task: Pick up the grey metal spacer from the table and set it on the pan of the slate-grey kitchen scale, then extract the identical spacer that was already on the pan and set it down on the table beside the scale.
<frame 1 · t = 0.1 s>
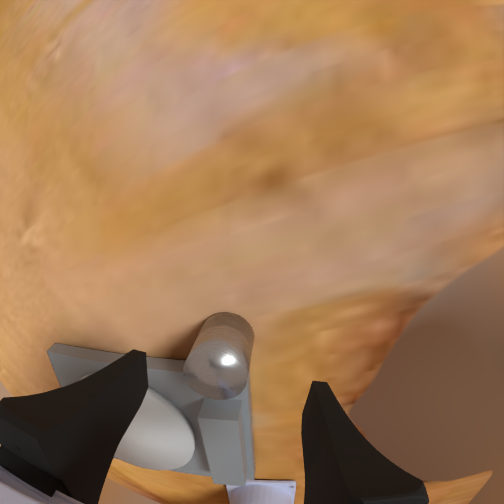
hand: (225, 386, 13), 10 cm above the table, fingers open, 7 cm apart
scale: (155, 416, 27), on the table
spacer a: (227, 335, 23), on the table
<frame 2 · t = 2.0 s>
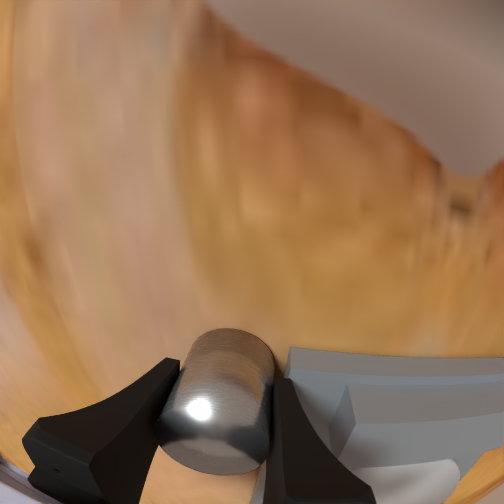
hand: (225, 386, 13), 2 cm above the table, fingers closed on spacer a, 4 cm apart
scale: (373, 469, 16), on the table
spacer a: (231, 364, 14), on the table, touching gripper
when the fingers open (5 cm above the table, at t = 5.6 s): spacer a stays where it is, resting on scale.
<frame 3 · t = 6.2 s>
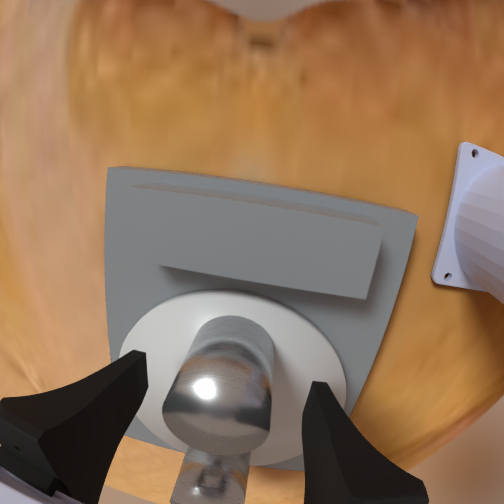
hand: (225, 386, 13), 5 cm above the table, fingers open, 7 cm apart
scale: (237, 348, 18), on the table
spacer b: (220, 447, 17), point 3 cm above the table, touching scale
spacer a: (233, 351, 15), point 3 cm above the table, touching scale
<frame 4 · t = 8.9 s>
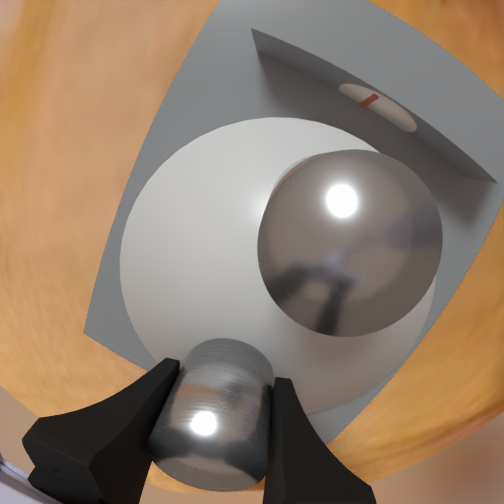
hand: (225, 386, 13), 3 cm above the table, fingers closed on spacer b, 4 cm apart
scale: (300, 234, 14), on the table
spacer b: (228, 375, 13), point 3 cm above the table, touching gripper, scale
spacer a: (325, 211, 11), point 3 cm above the table, touching scale
when the fingers open (2 cm above the table, at t = 12.6 s): spacer b stays where it is, on the table.
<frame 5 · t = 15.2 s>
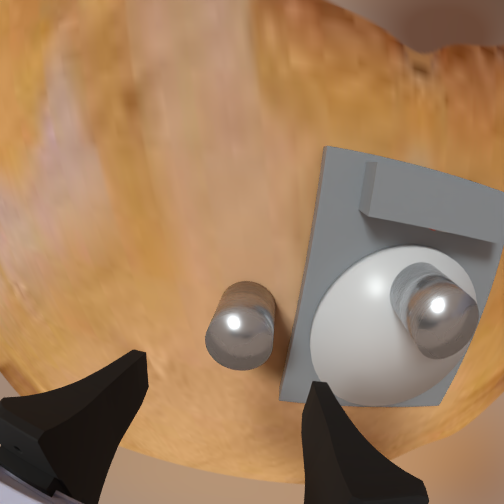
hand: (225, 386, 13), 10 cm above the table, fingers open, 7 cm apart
scale: (398, 297, 22), on the table
spacer b: (247, 306, 23), on the table
spacer a: (417, 291, 19), point 3 cm above the table, touching scale
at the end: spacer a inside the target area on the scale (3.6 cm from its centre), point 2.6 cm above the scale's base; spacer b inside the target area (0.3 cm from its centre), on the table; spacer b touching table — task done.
